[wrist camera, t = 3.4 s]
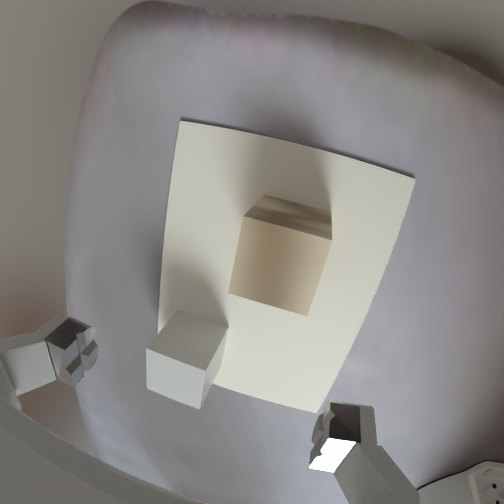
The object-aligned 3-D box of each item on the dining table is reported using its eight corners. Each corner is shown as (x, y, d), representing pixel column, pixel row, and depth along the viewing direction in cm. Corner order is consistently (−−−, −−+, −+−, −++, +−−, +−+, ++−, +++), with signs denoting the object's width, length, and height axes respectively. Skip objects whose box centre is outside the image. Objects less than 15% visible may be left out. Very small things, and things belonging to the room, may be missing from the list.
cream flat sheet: (414, 178, 18) (415, 179, 18) (316, 411, 27) (316, 413, 27) (181, 120, 20) (180, 120, 20) (157, 361, 29) (156, 362, 29)
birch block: (331, 212, 20) (332, 240, 15) (313, 273, 22) (307, 316, 17) (264, 194, 21) (243, 215, 16) (250, 256, 23) (227, 293, 18)
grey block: (228, 326, 25) (205, 370, 20) (221, 365, 27) (199, 409, 22) (177, 309, 26) (146, 348, 21) (174, 348, 28) (147, 388, 23)
